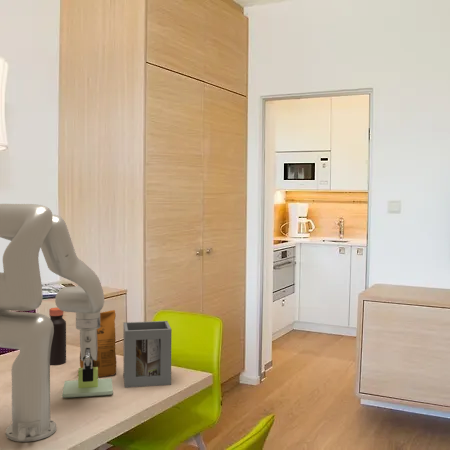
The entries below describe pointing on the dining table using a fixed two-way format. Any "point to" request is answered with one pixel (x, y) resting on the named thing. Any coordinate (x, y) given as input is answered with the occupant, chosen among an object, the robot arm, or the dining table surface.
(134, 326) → the crate
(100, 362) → the coffee package
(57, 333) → the bottle
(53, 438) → the dining table surface
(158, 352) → the coffee box
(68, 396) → the lid
